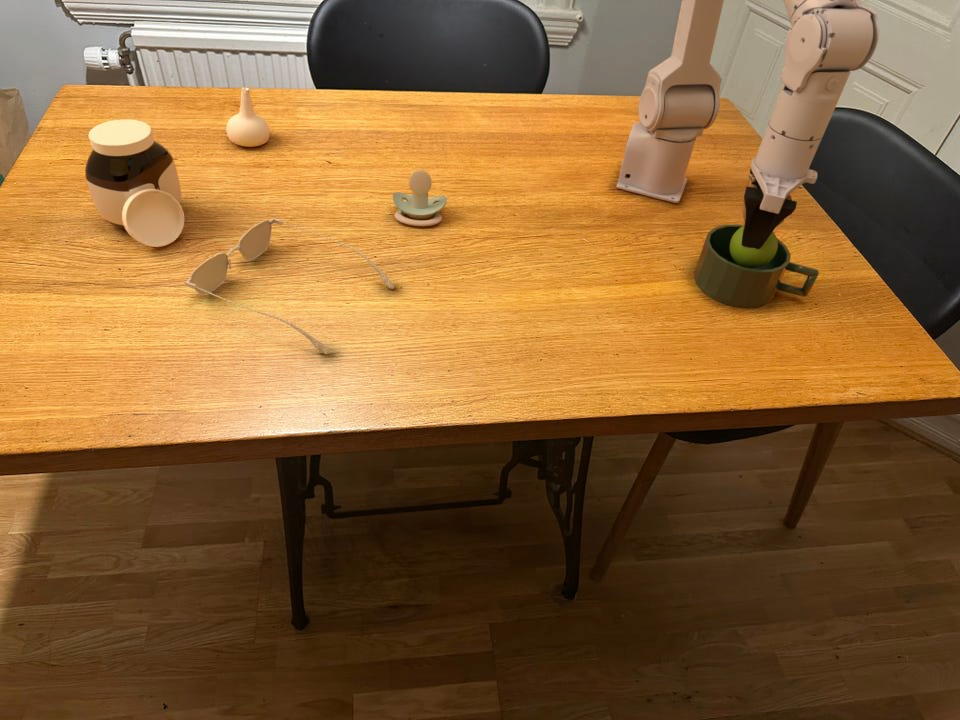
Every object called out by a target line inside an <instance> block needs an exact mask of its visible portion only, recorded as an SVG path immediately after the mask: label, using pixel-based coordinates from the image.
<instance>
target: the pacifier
mask: <svg viewBox="0 0 960 720" xmlns="http://www.w3.org/2000/svg"><path fill="white" fill-rule="evenodd" d="M408 186H409V189H410V191H411V195H410V194H408V193H404V192H399V191H398V192H394V193H393V195H392V201H393V203H394V205H395V207H396V208H397V209H398V210H397V211H395V212H394V215H393V216H394V218H395V219H396V220H397V221H398V222H399V223H401V224H405V225H408V226H413V227H430V226H434V225H437V224H439V223H441V222H442V220H443V216H442V215H441V214H440V211H442V210H443V209H444V208H445V207H446V205H447V204H448V198H447V196H444V195H440V196H439V195H438V196H433V197H430V198H429V192H430V190H431V188H432V177H431V176H430V174H429V173H428V172H427V171H426V170H424V169H416V170H415V171H413V172H412V173H411V174H410V176H409V178H408ZM404 214H406V215H407V216H408V217H410V218H408V217H406V216H404ZM411 218H412V219H411Z"/></svg>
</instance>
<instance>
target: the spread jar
mask: <svg viewBox="0 0 960 720" xmlns="http://www.w3.org/2000/svg"><path fill="white" fill-rule="evenodd" d="M88 139H89V143H90V145H91V148H92V150H91V152H90V154H89V155H88V158H87V161H86V164H85V168H84V171H85V174H84V175H85V181H86V184H87V188H88V192H89V194H90V196H91V200H92V202H93V205H94V207H95V210H96V212H97V213H98V214H99V216H100V217H101V218H102V219H103V220H104V221H106V222H107V223H108V224H110V225H112V226H113V227H116V228H118V229H121V230H124V231H125V232H127V234H128V235H129V236H130V237H131V238H132V239H133V240H134V241H136V242H138V243H140V244H143V245H145V246H148V247H153V248H160V247H165V246H168V245H170V244H172V243H173V242H175V241H176V240H177V239H178V238H179V237H180V235H181V234H182V232H183V230H184V225H185V213H184V210H183V207H182V205H181V202H182V187H181V183H180V179H179V175H178V170H177V167H176V166H177V165H176V163H175V160H174V158H173V156H172V153H171V152H170V151H169V150H168V149H167V148H166V147H165V146H164V145H162V144H161V143H160V142H158V141H156V140H155V138H154V135H153V131H152V128H151V126H150V125H149V124H148V123H146V122H144V121H141V120H136V119H114V120H109V121H105V122H102V123H99V124H98V125H96V126H94V127H92V128H91V129H90V130H89V132H88Z"/></svg>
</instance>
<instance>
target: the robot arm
mask: <svg viewBox="0 0 960 720" xmlns="http://www.w3.org/2000/svg"><path fill="white" fill-rule="evenodd" d="M724 2H725V0H681V5H680V7H679V13H678V19H677V25H676V30H675V35H674V39H673V45H672V49H671V55H670V56H669V57H668V58H666V59H665V60H664V61H662V62H661V63H659V64H658V65H656V66H655V67H653V68H651V69H650V70H649V71H648V74H647V78H646V81H645V85H644V88H643V91H642V92H641V94H640V96H639V101H638V118H639V121H634V123H633V125H632V126H631V127H632V128H631V129H630V132H629V135H628V139H627V143H626V145H625V150H624V153H623V158H622V161H621V163H620V171H619V174H618V181H617V183H616V186H615V188H616V189H618V190H623V191H627V192H630V193H634V194H637V195H641V196H646V197H650V198H653V199H657V200H661V201H666V202H669V203H673V204H679V203H680V201H681V198H682V195H683V193H684V190H685V188H686V185H687V182H688V178H687V177H686V174H687V171H688V167H689V164H690V161H691V157H692V154H693V150H694V147H695V144H696V140H697V138H698V137H703V133H704V131H705V130H706V129H709V128H710V127H712V125H713V124H714V122H715V121H716V119H717V117H718V115H719V112H720V106H721V99H720V95H721V94H720V93H721V84H722V80H723V79H722V76H721V75H720V73H719V72H718V71H717V70H716V68H714V66H713V65H712V64H711V58H712V54H713V51H714V46H715V41H716V36H717V32H718V28H719V23H720V19H721V15H722V10H723V7H724V6H723V5H724ZM783 3H784V6H785V9H786V12H787V13H786V14H787V15H788V19H789V23H790V26H791V29H788V32H787V34H786V40H785V47H784V54H785V58H784V59H785V60H784V65H783V68H782V71H781V73H780V74H781V78H780V79H781V82H782V86H781V89H780V91H779V94H778V97H777V99H776V102H775V104H774V107H773V109H772V113H771V115H770V118H769V120H768V123H767V126H766V129H765V131H764V135H763V137H762V140H761V142H760V145H759V148H758V150H757V153H756V156H755V157H753V159H752V160H751V164H750V170H749V175H750V174H752V175H753V176H754V177H755V178H756V181H755V182H751V181H750V182H751V183H752V184H753V185H755V186H756V187H757V188H752V187H748V185H746V187H745V188H746V190H745V189H744V191H745V193H744V194H743V201H744V202H745V207H746V219H745V221H744V225H743V226H744V230H743V235H742V246H745V247H749V248H756V249H760V248H761V247H762V246H763V244H764V243H765V242H766V240H767V239H768V237H769V236H770V234H771V233H772V232H774V230H775V229H776V228H777V227H779V226H778V224H779V223H780V222H782V221H783V220H784V221H785V219H787V218H788V217H790V216H791V215H792V214H793V213H794V212H795V211H796V209H797V205H798V204H797V203H798V201H797V200H796V201H795V200H793V199H792V200H788V199H785V198H786V197H787V196H788V195H789V194H790V195H791V194H792V193H793V192H795V191H796V190H797V189H798V188H800V187H801V186H802V185H803V184H816V182H817V179H818V171H817V170H814V169H811V168H810V167H811V165H812V162H813V160H814V157H815V155H816V153H817V151H818V148H819V146H820V145H821V142H822V139H823V137H824V135H825V133H826V131H827V128H828V126H829V123H830V121H831V118H832V116H833V114H834V112H835V110H836V108H837V105H838V102H839V100H840V98H841V96H842V94H843V91H844V88H845V86H846V84H847V82H848V80H849V77H850V75H851V72H855V71H858V70H860V69H862V68H863V67H864V66H866V64H868V63H869V61H870V60H871V58H872V57H873V55H874V53H875V52H876V48H877V46H878V42H879V37H880V25H879V21H878V13H877V12H876V11H875V10H874V9H873V8H871V7H870V6H867V5H866V6H865V5H863V4H862V2H861V0H783ZM751 183H750V184H751Z"/></svg>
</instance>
